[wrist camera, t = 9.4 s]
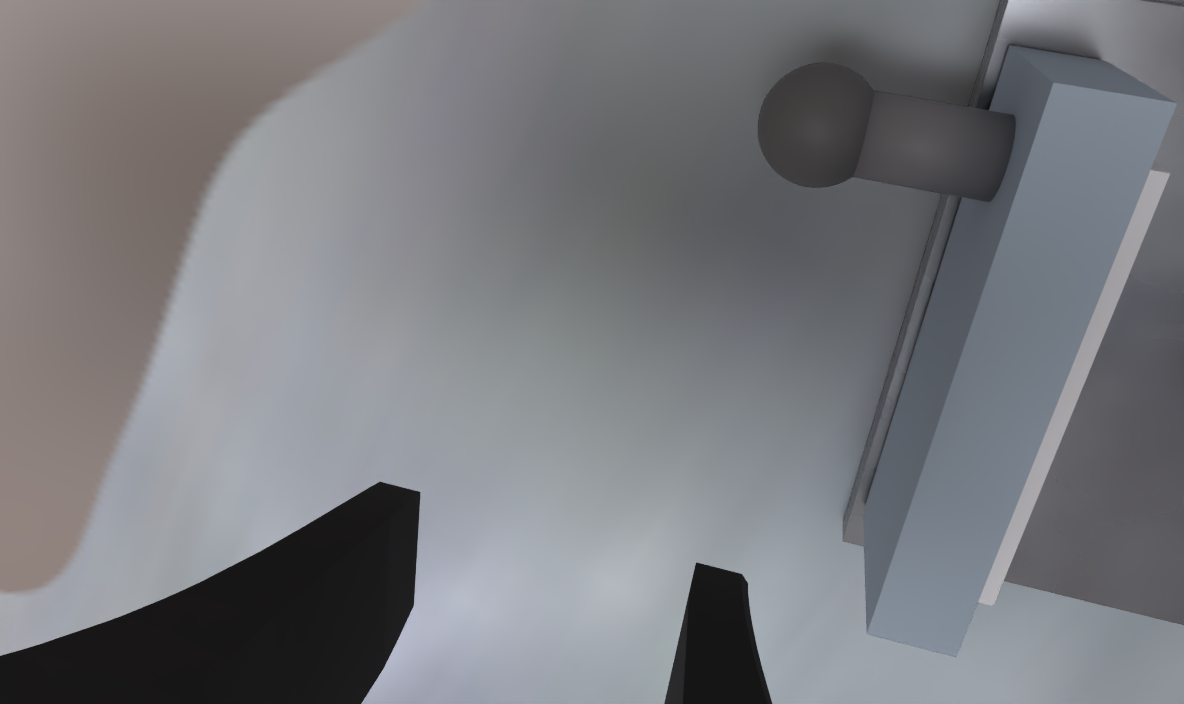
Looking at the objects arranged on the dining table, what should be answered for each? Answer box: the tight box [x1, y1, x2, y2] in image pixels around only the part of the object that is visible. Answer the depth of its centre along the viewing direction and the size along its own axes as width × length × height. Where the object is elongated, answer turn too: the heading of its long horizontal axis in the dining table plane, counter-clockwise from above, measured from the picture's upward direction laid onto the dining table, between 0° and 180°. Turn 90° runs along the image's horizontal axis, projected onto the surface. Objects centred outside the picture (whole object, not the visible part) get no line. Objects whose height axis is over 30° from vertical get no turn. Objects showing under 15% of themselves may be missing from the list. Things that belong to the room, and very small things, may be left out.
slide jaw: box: [758, 45, 1177, 657], centre depth 17 cm, size 6×10×4 cm, turn 174°
